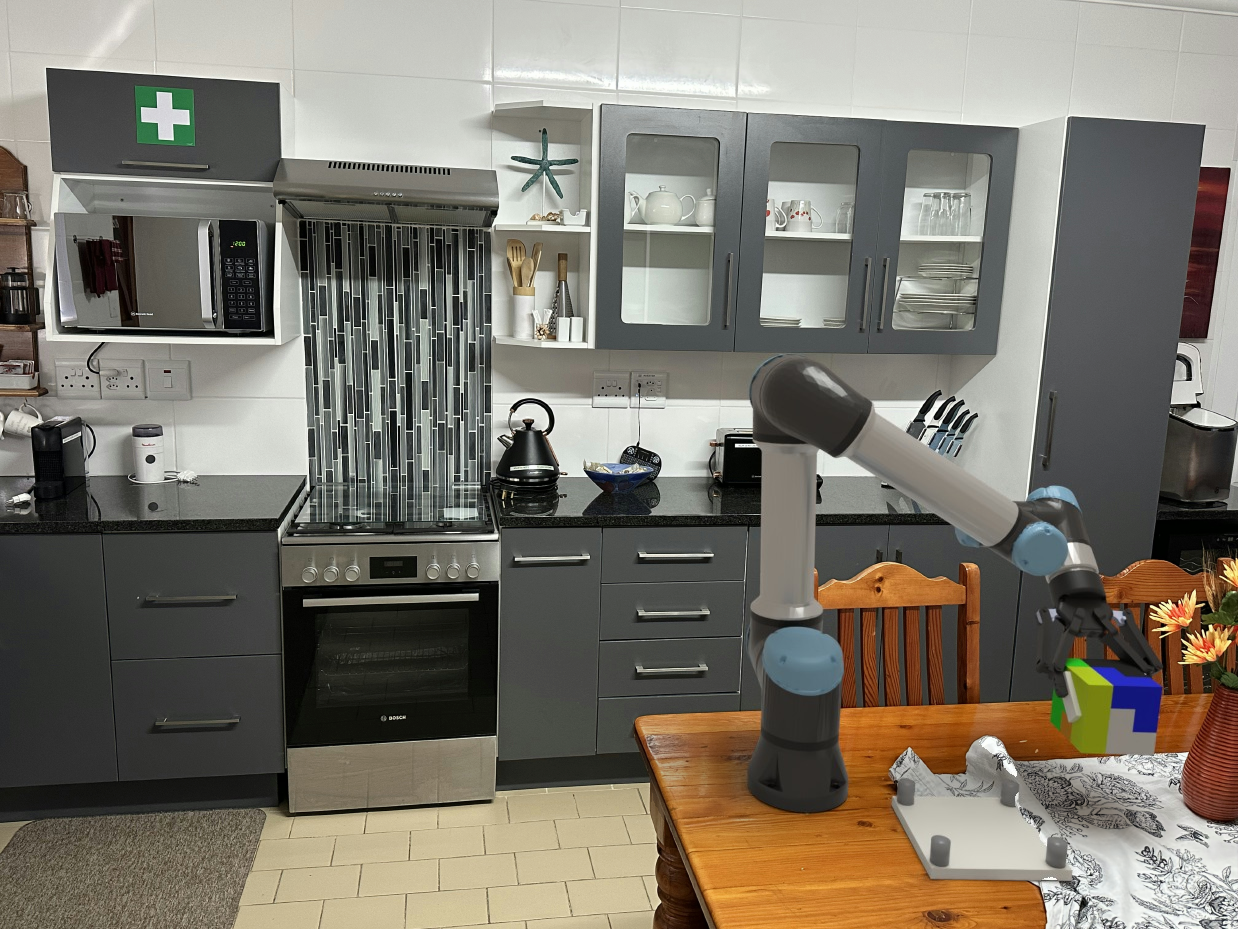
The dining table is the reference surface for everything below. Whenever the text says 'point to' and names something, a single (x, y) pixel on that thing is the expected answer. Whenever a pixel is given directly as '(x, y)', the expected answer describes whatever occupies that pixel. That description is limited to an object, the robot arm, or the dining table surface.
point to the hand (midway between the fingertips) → (1113, 720)
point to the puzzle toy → (1110, 708)
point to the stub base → (978, 837)
